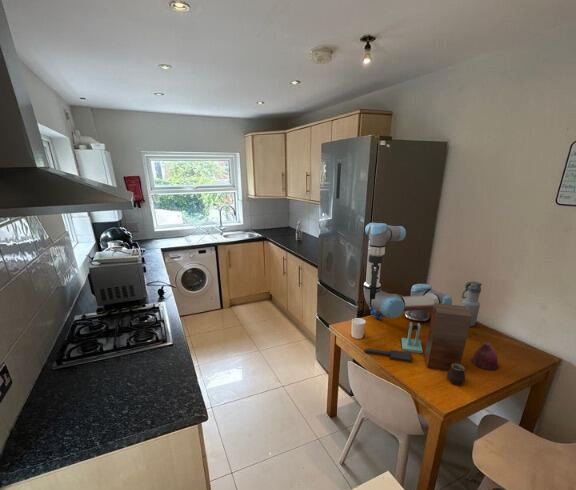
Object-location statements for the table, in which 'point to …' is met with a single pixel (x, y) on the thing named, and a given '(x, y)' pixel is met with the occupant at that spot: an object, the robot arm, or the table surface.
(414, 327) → the black knobbed rod
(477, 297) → the water bottle
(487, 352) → the purple beanie hat
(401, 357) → the spatula
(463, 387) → the table surface
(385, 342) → the table surface
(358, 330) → the white cup
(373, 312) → the grapes
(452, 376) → the mate gourd
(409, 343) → the mounting bracket
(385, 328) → the table surface
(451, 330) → the shelf block
